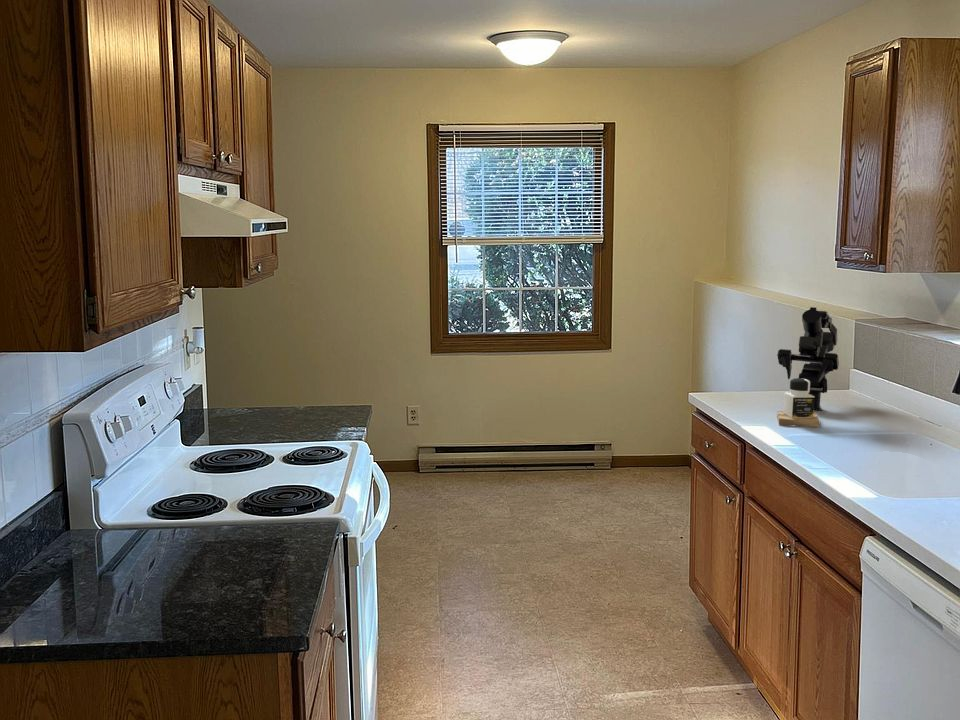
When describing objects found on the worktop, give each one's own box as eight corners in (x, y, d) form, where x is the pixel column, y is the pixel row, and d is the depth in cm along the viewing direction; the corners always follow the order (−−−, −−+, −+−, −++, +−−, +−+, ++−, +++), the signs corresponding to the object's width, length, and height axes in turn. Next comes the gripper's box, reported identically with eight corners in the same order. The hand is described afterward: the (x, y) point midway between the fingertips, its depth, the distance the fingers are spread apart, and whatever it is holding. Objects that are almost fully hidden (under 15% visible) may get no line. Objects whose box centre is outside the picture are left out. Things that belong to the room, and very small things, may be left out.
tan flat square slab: (776, 417, 313) (777, 411, 313) (815, 419, 310) (815, 413, 310) (779, 425, 302) (779, 418, 301) (819, 427, 299) (819, 421, 298)
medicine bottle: (792, 418, 302) (794, 381, 300) (782, 413, 309) (784, 377, 307) (813, 418, 303) (816, 381, 301) (803, 413, 310) (806, 377, 308)
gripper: (780, 324, 314) (770, 362, 307) (840, 328, 305) (831, 368, 298) (783, 345, 322) (774, 382, 315) (842, 349, 314) (834, 388, 306)
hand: (803, 380), depth 308 cm, fingers open, 9 cm apart
